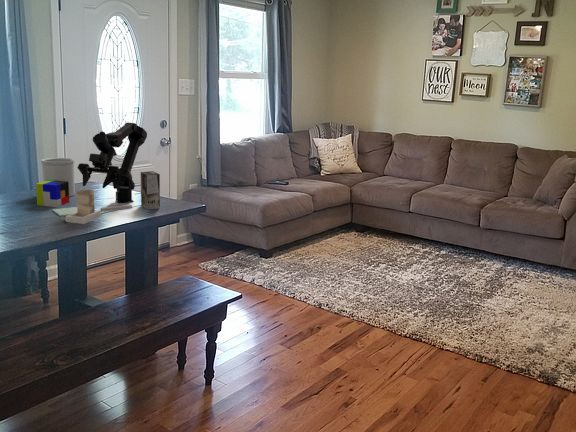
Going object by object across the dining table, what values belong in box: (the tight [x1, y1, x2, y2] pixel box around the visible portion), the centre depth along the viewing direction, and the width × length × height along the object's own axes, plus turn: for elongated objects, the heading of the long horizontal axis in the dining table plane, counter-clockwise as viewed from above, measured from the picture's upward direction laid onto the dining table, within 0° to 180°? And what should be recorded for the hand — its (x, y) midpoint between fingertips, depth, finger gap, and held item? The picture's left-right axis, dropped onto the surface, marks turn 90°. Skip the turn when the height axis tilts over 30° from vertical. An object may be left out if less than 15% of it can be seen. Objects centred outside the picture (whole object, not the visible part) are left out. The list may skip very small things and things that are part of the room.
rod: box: [100, 204, 133, 212], centre depth 268 cm, size 14×2×2 cm, turn 127°
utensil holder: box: [40, 157, 76, 198], centre depth 289 cm, size 15×15×18 cm
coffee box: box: [140, 170, 161, 210], centre depth 273 cm, size 9×6×16 cm
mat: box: [51, 206, 77, 217], centre depth 260 cm, size 11×11×1 cm
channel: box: [64, 210, 102, 225], centre depth 249 cm, size 13×8×2 cm, turn 168°
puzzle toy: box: [35, 180, 70, 208], centre depth 272 cm, size 10×10×10 cm
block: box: [76, 188, 96, 217], centre depth 250 cm, size 5×5×12 cm
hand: (93, 186), depth 254 cm, fingers open, 9 cm apart
